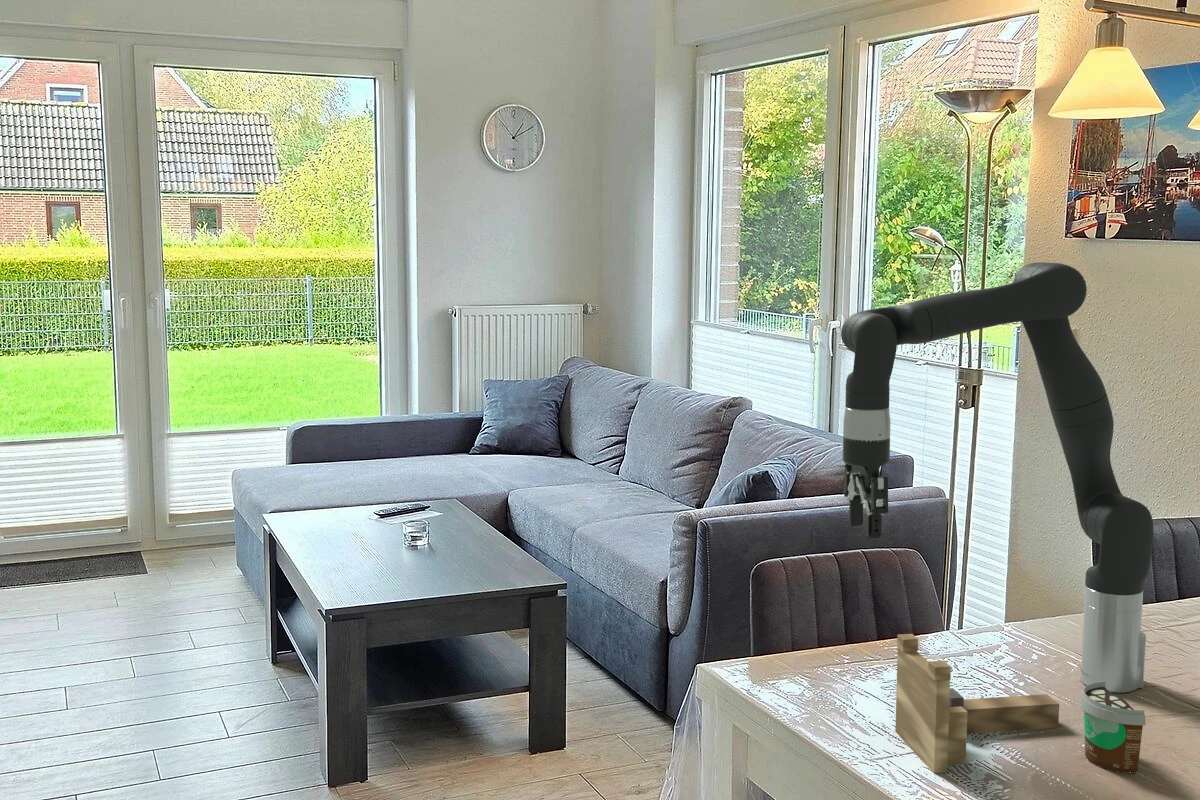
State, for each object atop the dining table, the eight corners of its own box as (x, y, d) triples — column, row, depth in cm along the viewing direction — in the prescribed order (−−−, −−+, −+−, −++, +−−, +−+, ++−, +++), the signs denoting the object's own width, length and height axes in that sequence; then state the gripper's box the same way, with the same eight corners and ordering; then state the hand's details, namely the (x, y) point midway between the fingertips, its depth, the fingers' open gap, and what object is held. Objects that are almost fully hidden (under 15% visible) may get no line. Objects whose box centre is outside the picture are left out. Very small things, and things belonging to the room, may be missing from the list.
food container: (1061, 743, 185) (1064, 681, 184) (1100, 742, 186) (1103, 680, 184) (1101, 779, 173) (1105, 713, 172) (1142, 777, 174) (1146, 711, 172)
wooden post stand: (931, 728, 191) (934, 631, 189) (973, 770, 176) (976, 665, 174) (894, 731, 190) (896, 633, 188) (932, 773, 176) (935, 668, 173)
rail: (1045, 717, 195) (1047, 682, 194) (1058, 727, 191) (1059, 691, 190) (939, 724, 193) (940, 688, 192) (950, 735, 189) (951, 698, 188)
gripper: (905, 441, 190) (902, 541, 193) (873, 427, 204) (871, 520, 207) (859, 442, 189) (857, 543, 192) (830, 428, 203) (828, 522, 206)
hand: (864, 531), depth 199 cm, fingers open, 8 cm apart
